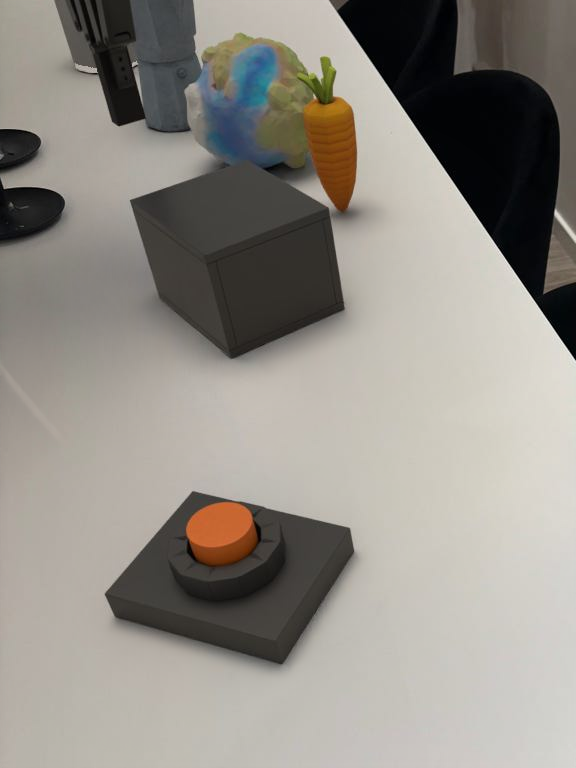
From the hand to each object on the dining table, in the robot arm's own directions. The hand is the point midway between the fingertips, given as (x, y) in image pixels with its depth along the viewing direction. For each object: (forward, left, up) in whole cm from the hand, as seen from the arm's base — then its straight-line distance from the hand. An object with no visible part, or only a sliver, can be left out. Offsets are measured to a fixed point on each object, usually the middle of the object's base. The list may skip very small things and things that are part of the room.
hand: (128, 120), depth 89 cm
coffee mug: (-38, +44, -12) cm, 59 cm away
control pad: (+32, -39, -12) cm, 52 cm away
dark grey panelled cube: (+15, -8, -12) cm, 21 cm away
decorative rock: (+1, +21, -12) cm, 24 cm away
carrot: (+15, +11, -12) cm, 22 cm away
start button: (+32, -39, -9) cm, 51 cm away
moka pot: (-17, +29, -12) cm, 36 cm away
